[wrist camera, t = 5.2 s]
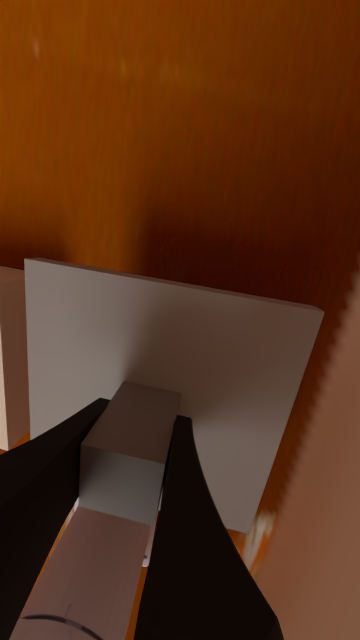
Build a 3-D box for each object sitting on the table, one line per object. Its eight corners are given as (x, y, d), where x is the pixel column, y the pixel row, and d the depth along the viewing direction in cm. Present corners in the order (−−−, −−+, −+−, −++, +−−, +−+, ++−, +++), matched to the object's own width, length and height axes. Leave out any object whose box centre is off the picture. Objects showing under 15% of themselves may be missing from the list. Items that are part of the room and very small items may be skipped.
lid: (246, 515, 15) (261, 645, 10) (43, 463, 16) (-32, 559, 11) (315, 306, 11) (392, 354, 6) (39, 257, 12) (-79, 266, 7)
